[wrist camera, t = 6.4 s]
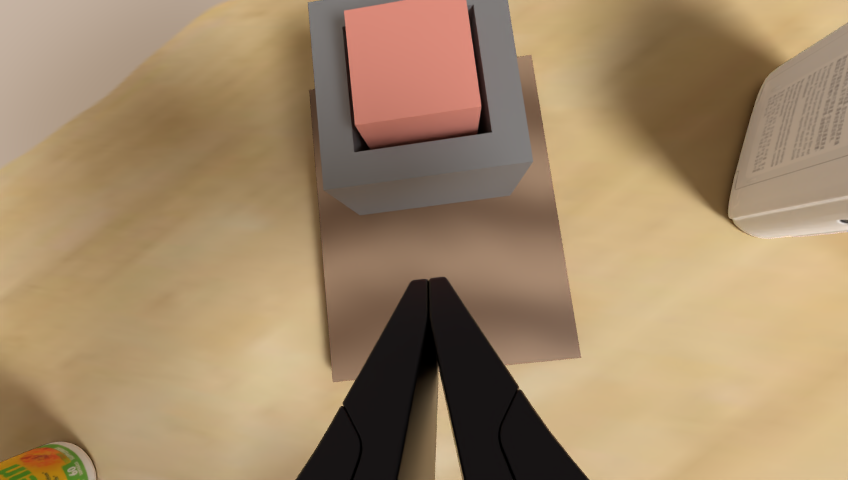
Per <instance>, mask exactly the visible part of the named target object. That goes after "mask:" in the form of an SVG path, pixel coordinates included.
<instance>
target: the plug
mask: <svg viewBox="0 0 848 480" xmlns="http://www.w3.org/2000/svg"><path fill="white" fill-rule="evenodd" d="M344 16H345V27H346V37H347V47H348V58H349V68H350V79H351V89H352V100H353V110H354V120H355V126H356V128H357V129H358V131H359V132H360V134H361V136H362V137H363V139H364V140H365V142H366V143H367V145H368V146H369V148H370V150H374V149H381V148H388V147H395V146H401V145H408V144H415V143H422V142H429V141H436V140H443V139H450V138H457V137H464V136H471V135H477V131H478V125H479V118H480V112H481V100H480V93H479V86H478V79H477V72H476V65H475V58H474V51H473V44H472V37H471V30H470V23H469V16H468V9H467V2H466V0H403V1H397V2H391V3H386V4H380V5H374V6H368V7H363V8H357V9H351V10H345V11H344Z"/></svg>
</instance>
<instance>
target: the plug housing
mask: <svg viewBox="0 0 848 480" xmlns="http://www.w3.org/2000/svg"><path fill="white" fill-rule="evenodd" d="M397 1H403V0H320V1H314V2H309V3H308V9H309V21H310V33H311V45H312V57H313V70H314V82H315V94H316V106H317V118H318V130H319V142H320V154H321V166H322V178H323V190H324V191H325V192H327V193H328V194H330V195H331V196H333V197H334V198H336V199H337V200H338V201H340V202H341V203H343V204H344V205H346V206H347V207H349V208H350V209H352V210H353V211H354V212H356V213H357V214H359V215H366V214H374V213H381V212H389V211H396V210H404V209H412V208H419V207H427V206H434V205H442V204H450V203H457V202H465V201H472V200H480V199H488V198H495V197H503V196H510V195H511V194H512V192H513V191H514V189H515V188H516V186H517V185H518V183H519V182H520V180H521V179H522V177H523V176H524V174H525V173H526V171H527V170H528V168H529V167H530V165H531V164H532V163H533V157H532V150H531V144H530V138H529V131H528V125H527V119H526V112H525V106H524V100H523V94H522V87H521V81H520V75H519V68H518V62H517V56H516V49H515V43H514V37H513V31H512V24H511V18H510V12H509V5H508V0H466V2H467V9H468V16H469V23H470V30H471V37H472V44H473V51H474V58H475V65H476V72H477V79H478V86H479V93H480V100H481V112H480V118H479V125H478V131H477V135H471V136H464V137H457V138H450V139H443V140H436V141H429V142H422V143H415V144H408V145H401V146H395V147H388V148H381V149H374V150H370V148H369V146H368V145H367V143H366V142H365V140H364V139H363V137H362V136H361V134H360V132H359V131H358V129H357V128H356V126H355V120H354V110H353V100H352V89H351V79H350V68H349V58H348V47H347V37H346V27H345V16H344V11H345V10H351V9H357V8H363V7H368V6H374V5H380V4H386V3H391V2H397Z"/></svg>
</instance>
